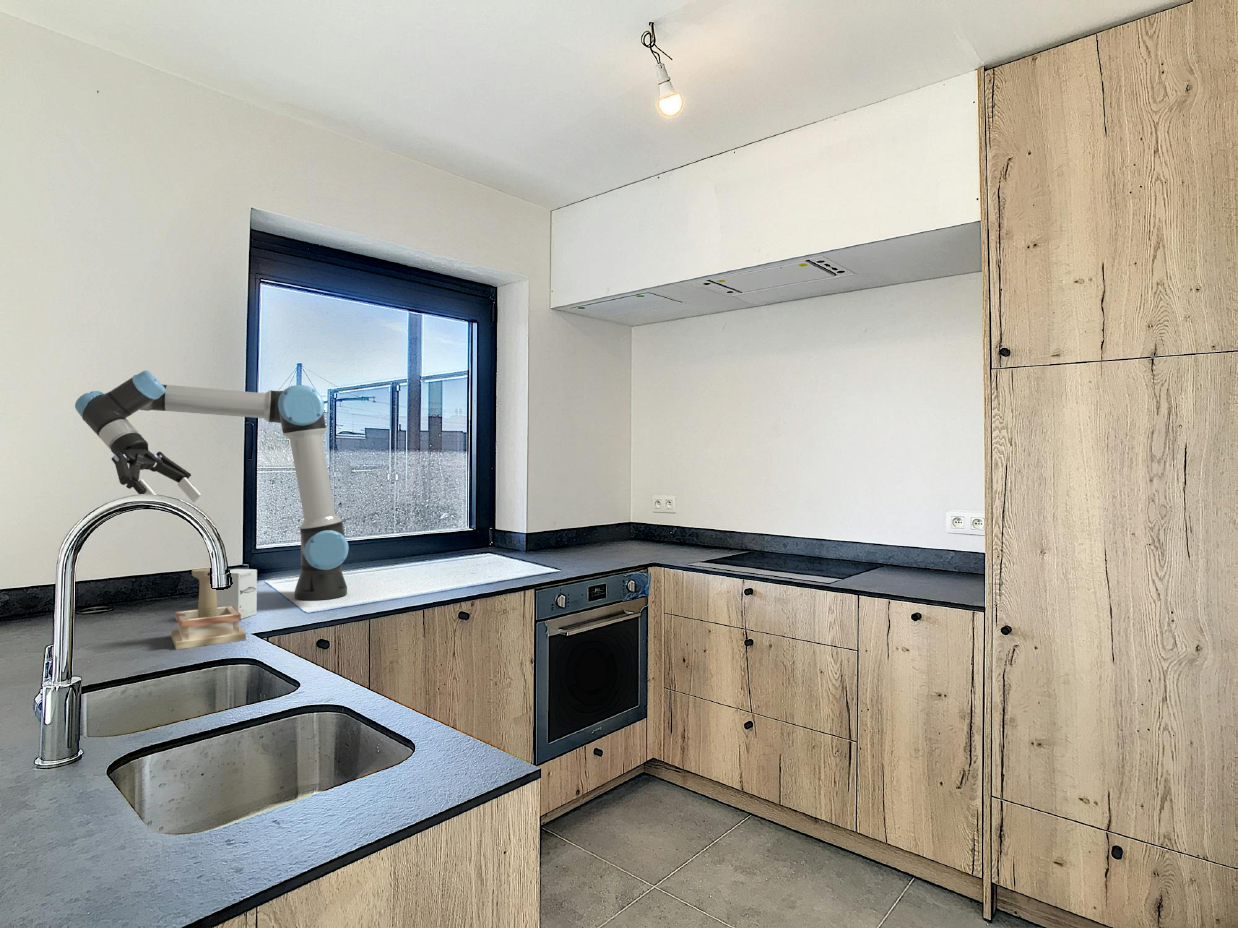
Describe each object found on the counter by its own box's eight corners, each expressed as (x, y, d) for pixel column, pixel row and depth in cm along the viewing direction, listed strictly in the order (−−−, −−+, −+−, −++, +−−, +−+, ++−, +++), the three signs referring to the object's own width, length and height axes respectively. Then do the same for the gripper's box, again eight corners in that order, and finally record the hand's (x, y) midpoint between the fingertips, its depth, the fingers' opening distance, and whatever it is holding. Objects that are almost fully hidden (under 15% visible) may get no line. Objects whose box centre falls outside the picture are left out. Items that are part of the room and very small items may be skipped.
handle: (190, 631, 166) (190, 569, 166) (221, 627, 170) (221, 566, 170) (193, 635, 162) (193, 571, 162) (224, 631, 166) (224, 569, 166)
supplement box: (238, 620, 184) (238, 573, 183) (213, 619, 185) (213, 572, 185) (257, 614, 191) (257, 568, 191) (234, 613, 192) (234, 567, 192)
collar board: (236, 628, 176) (236, 604, 176) (245, 639, 164) (245, 614, 164) (170, 636, 167) (170, 611, 167) (176, 649, 156) (176, 622, 156)
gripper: (155, 451, 192) (204, 506, 189) (70, 451, 167) (125, 514, 165) (172, 432, 191) (221, 487, 188) (89, 429, 166) (145, 492, 164)
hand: (176, 500), depth 177 cm, fingers open, 13 cm apart
